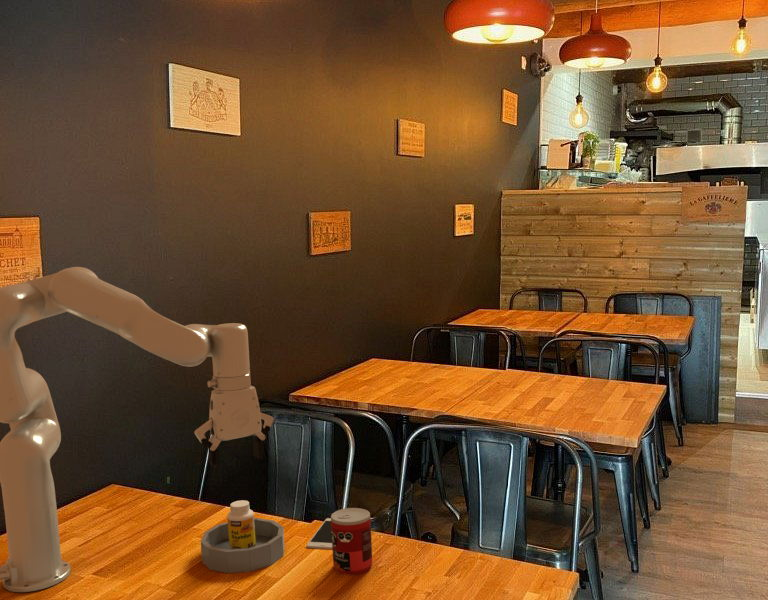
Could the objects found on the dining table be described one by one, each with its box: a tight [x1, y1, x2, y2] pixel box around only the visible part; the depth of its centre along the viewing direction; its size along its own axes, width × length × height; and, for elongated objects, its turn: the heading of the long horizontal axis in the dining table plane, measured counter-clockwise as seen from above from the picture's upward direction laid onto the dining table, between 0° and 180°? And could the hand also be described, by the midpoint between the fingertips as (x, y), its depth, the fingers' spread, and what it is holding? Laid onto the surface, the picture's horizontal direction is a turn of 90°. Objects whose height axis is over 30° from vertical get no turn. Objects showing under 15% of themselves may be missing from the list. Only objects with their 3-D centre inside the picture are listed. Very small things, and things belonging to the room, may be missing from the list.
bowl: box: [200, 517, 286, 574], centre depth 162 cm, size 17×17×4 cm
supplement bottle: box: [226, 499, 256, 550], centre depth 161 cm, size 6×6×10 cm
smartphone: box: [306, 517, 332, 550], centre depth 171 cm, size 7×16×1 cm, turn 167°
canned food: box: [330, 507, 373, 576], centre depth 153 cm, size 8×8×11 cm
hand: (237, 462), depth 160 cm, fingers open, 9 cm apart
